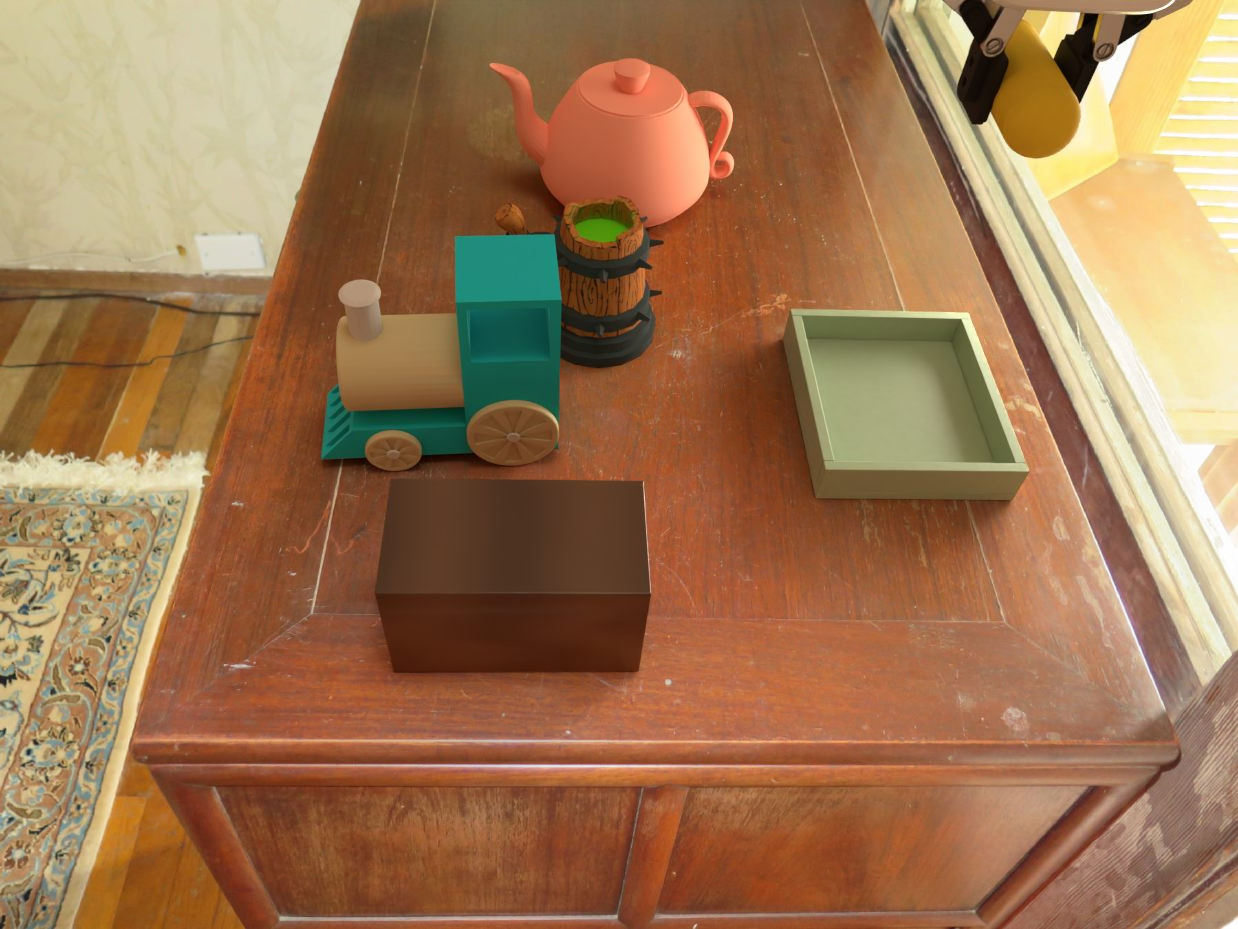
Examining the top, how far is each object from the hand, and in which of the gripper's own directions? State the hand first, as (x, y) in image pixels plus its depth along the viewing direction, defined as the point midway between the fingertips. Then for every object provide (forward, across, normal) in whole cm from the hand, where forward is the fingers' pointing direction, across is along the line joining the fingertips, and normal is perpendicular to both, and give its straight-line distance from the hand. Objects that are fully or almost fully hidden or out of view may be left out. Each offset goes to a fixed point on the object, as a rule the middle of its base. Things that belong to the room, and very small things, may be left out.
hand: (1011, 110), depth 57 cm
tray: (+26, 0, 0) cm, 26 cm away
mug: (+26, -24, +9) cm, 37 cm away
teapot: (+26, -21, +28) cm, 43 cm away
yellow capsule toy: (0, 0, 0) cm, 0 cm away
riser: (+26, -28, -18) cm, 42 cm away
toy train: (+26, -34, -2) cm, 43 cm away
